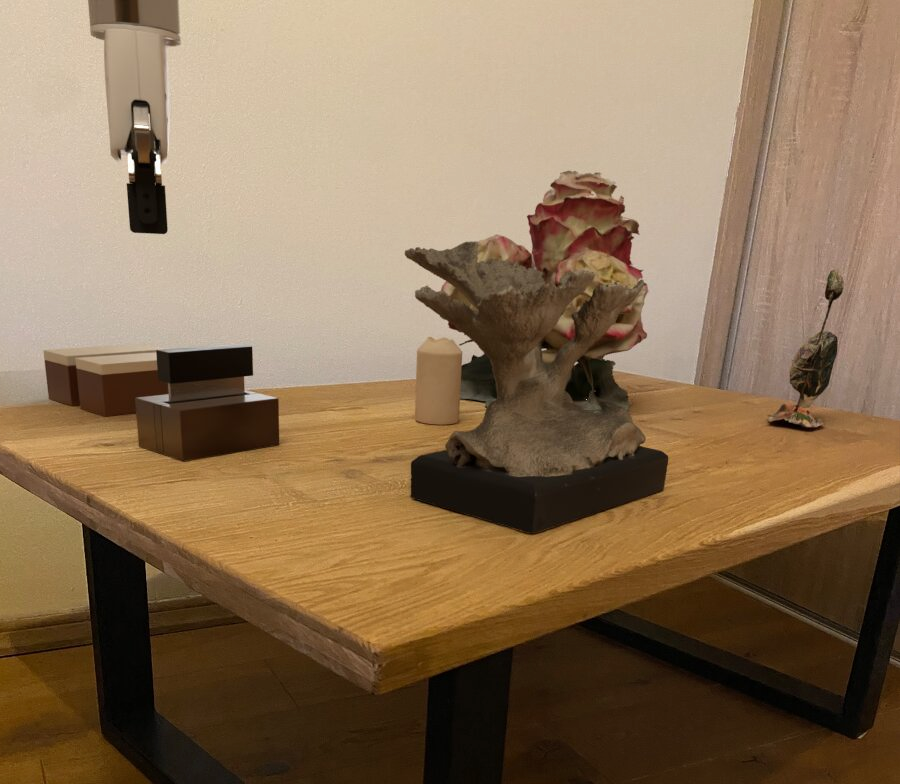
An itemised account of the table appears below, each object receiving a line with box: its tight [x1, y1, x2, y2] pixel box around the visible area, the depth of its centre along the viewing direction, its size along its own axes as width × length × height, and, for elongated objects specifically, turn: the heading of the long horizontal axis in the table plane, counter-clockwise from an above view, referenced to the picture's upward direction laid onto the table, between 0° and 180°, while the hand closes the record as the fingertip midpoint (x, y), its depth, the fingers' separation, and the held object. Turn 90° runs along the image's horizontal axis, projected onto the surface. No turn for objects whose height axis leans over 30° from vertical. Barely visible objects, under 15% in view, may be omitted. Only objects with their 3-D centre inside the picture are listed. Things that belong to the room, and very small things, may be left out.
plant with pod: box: [766, 268, 845, 429], centre depth 122 cm, size 8×11×20 cm
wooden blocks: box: [42, 343, 169, 418], centre depth 116 cm, size 14×14×6 cm
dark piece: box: [156, 343, 254, 404], centre depth 95 cm, size 10×2×10 cm, turn 139°
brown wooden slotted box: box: [135, 389, 280, 462], centre depth 96 cm, size 12×8×5 cm, turn 139°
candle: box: [414, 336, 463, 426], centre depth 114 cm, size 6×6×10 cm
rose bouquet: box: [440, 170, 650, 414], centre depth 126 cm, size 26×29×30 cm
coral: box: [404, 240, 669, 534], centre depth 83 cm, size 25×20×21 cm
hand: (149, 232), depth 87 cm, fingers open, 9 cm apart
